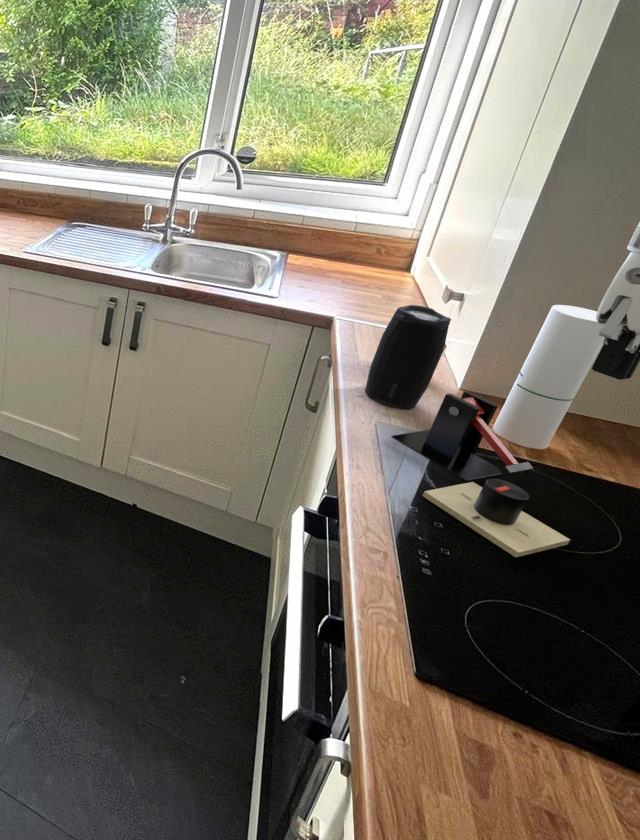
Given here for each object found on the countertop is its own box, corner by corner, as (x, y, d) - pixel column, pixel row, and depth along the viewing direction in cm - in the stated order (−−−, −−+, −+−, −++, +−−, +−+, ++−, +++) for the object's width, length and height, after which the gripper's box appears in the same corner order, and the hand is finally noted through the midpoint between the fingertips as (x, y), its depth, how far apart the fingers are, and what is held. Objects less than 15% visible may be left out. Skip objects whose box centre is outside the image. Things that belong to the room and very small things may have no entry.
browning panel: (563, 550, 79) (571, 538, 78) (511, 563, 77) (518, 551, 76) (467, 491, 90) (473, 480, 89) (419, 501, 88) (424, 490, 87)
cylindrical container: (537, 438, 104) (605, 311, 95) (551, 459, 99) (624, 326, 89) (485, 425, 108) (545, 301, 98) (495, 444, 102) (560, 315, 92)
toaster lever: (522, 472, 89) (538, 466, 87) (499, 477, 88) (514, 471, 86) (465, 403, 96) (478, 396, 94) (443, 406, 95) (456, 399, 93)
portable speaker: (375, 387, 119) (409, 300, 112) (427, 411, 111) (467, 319, 104) (349, 395, 116) (383, 305, 109) (401, 420, 108) (441, 325, 101)
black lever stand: (504, 479, 93) (536, 417, 89) (463, 487, 91) (494, 424, 87) (426, 435, 104) (452, 378, 99) (388, 441, 102) (412, 383, 97)
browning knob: (487, 500, 85) (500, 474, 83) (522, 522, 81) (538, 494, 79) (465, 505, 84) (479, 479, 82) (501, 527, 80) (516, 500, 78)
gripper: (682, 256, 67) (609, 394, 73) (760, 249, 70) (685, 382, 77) (597, 239, 74) (537, 367, 80) (673, 233, 77) (610, 356, 84)
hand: (610, 374), depth 79 cm, fingers closed
